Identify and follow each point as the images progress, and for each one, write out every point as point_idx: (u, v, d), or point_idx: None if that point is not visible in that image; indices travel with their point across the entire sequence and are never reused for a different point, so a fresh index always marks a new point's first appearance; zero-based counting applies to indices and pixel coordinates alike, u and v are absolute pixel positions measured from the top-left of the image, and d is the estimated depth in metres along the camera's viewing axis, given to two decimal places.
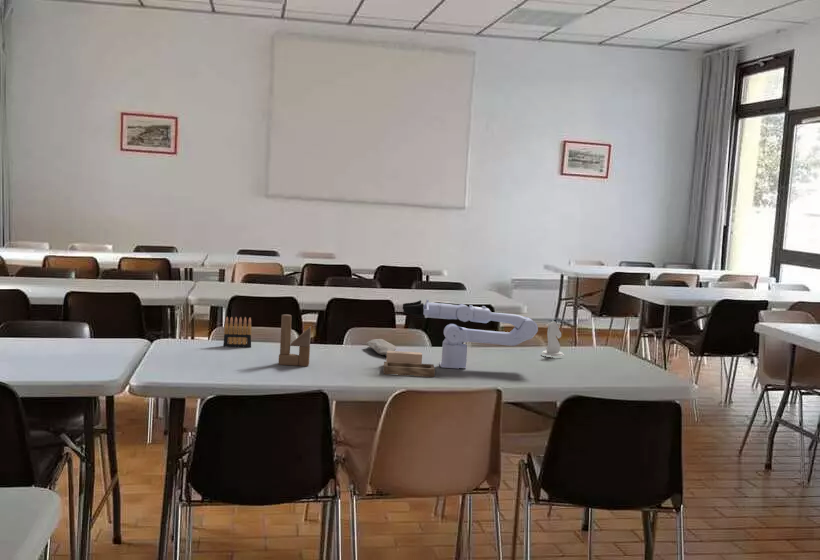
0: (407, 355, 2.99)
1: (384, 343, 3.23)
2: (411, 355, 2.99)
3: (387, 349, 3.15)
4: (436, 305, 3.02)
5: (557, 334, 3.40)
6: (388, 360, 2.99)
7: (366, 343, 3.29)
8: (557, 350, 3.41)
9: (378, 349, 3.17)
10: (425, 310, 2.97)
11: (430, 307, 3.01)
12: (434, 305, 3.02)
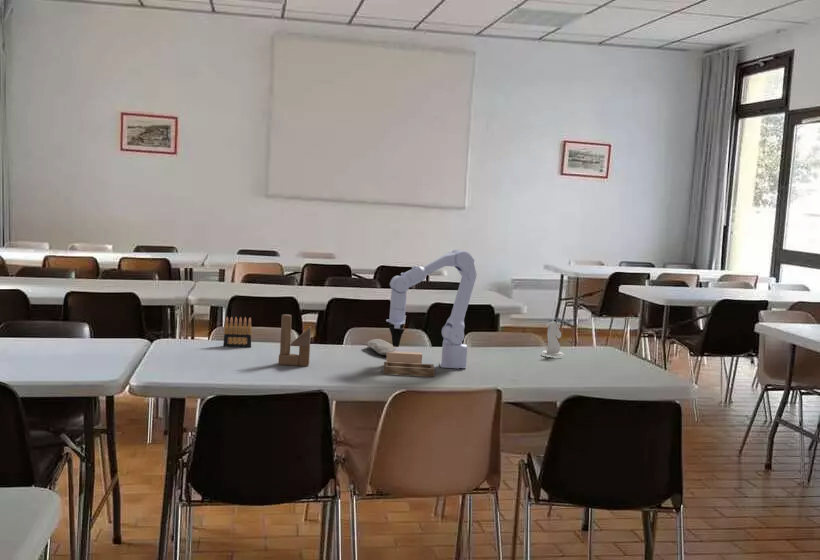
0: (407, 355, 2.99)
1: (384, 343, 3.22)
2: (411, 355, 2.99)
3: (388, 349, 3.15)
4: (391, 312, 2.97)
5: (557, 334, 3.40)
6: (388, 360, 2.98)
7: (365, 343, 3.29)
8: (557, 350, 3.41)
9: (378, 349, 3.17)
10: (395, 326, 2.92)
11: (394, 318, 2.96)
12: (391, 314, 2.97)
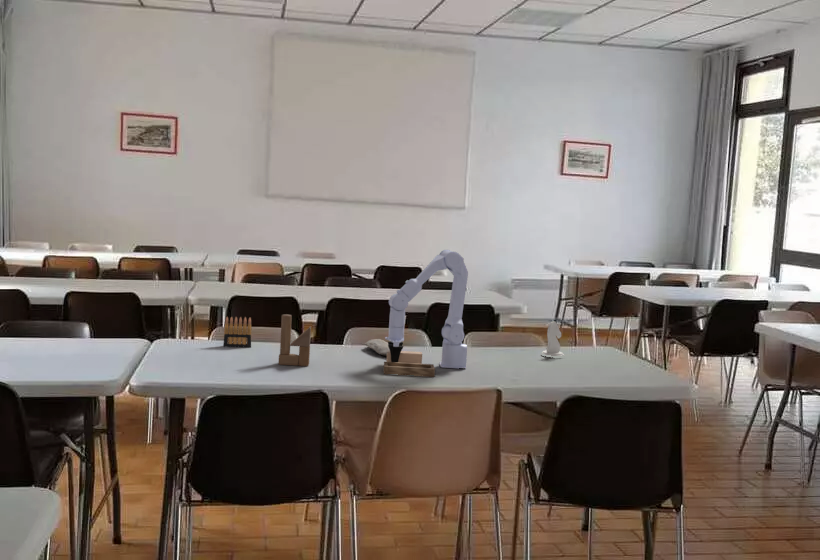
0: (407, 354, 2.99)
1: (384, 343, 3.22)
2: (411, 354, 2.99)
3: (388, 349, 3.15)
4: (390, 330, 2.98)
5: (557, 334, 3.40)
6: (388, 360, 2.98)
7: (365, 343, 3.28)
8: (557, 350, 3.41)
9: (379, 349, 3.17)
10: (394, 344, 2.93)
11: (393, 336, 2.97)
12: (390, 332, 2.98)
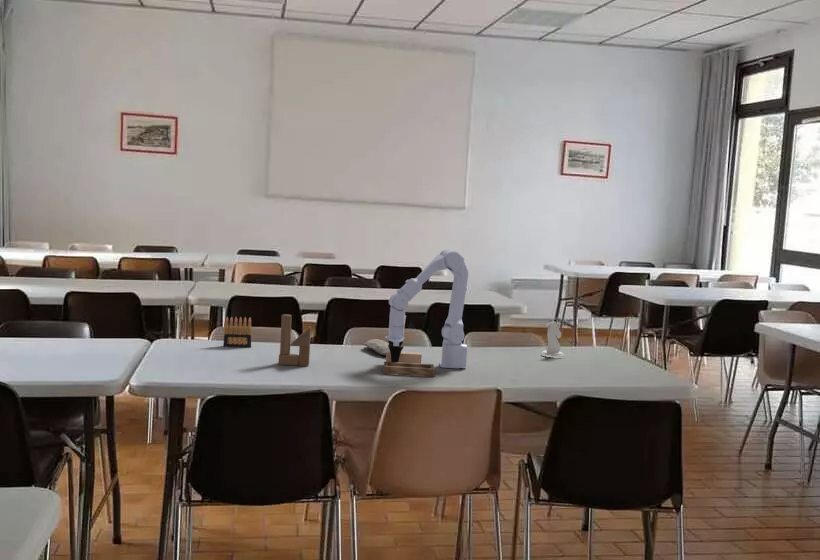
0: (406, 355, 2.99)
1: (384, 343, 3.22)
2: (410, 355, 2.99)
3: None
4: (390, 329, 2.98)
5: (557, 334, 3.40)
6: (387, 360, 2.99)
7: (364, 344, 3.28)
8: (557, 350, 3.41)
9: (380, 349, 3.16)
10: (394, 344, 2.93)
11: (393, 335, 2.97)
12: (390, 331, 2.98)
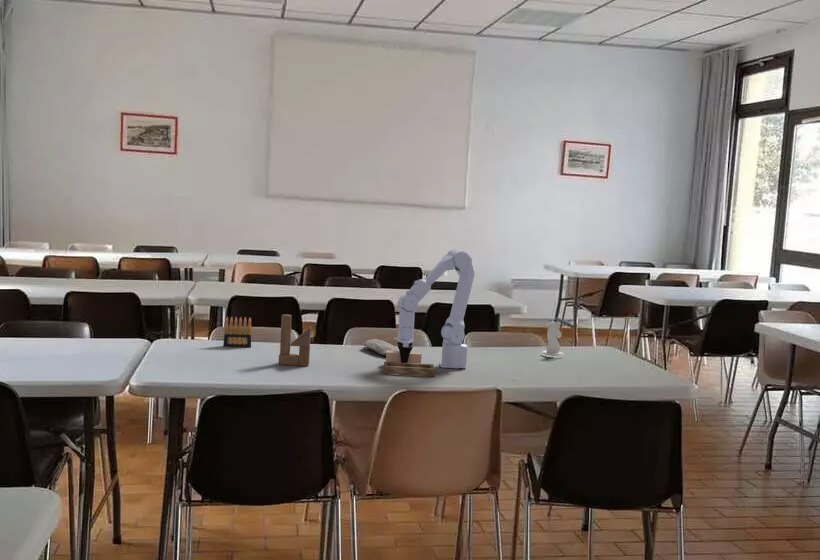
0: None
1: (384, 343, 3.22)
2: (410, 355, 2.99)
3: (390, 349, 3.15)
4: (400, 330, 2.98)
5: (557, 334, 3.40)
6: (387, 360, 2.99)
7: (364, 344, 3.27)
8: (557, 350, 3.41)
9: (381, 350, 3.16)
10: (404, 345, 2.93)
11: (402, 336, 2.97)
12: (400, 332, 2.98)
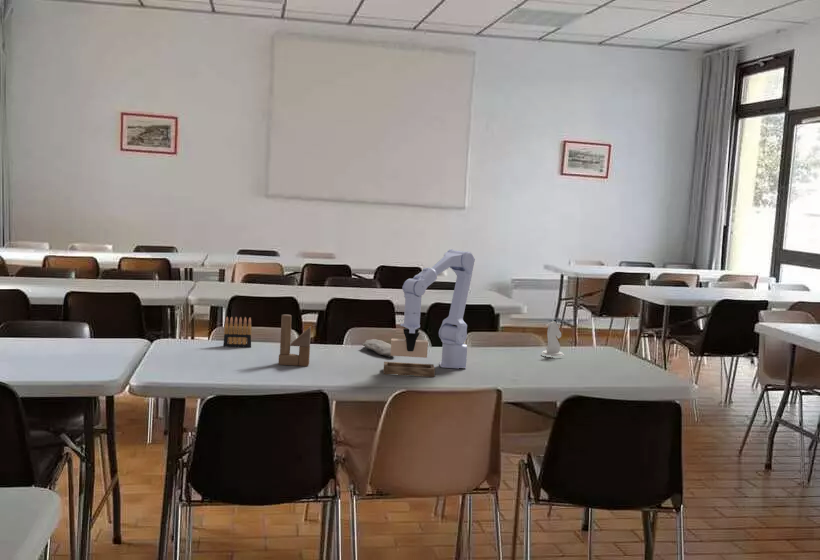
0: None
1: (384, 343, 3.22)
2: (416, 343, 2.88)
3: (390, 349, 3.15)
4: (406, 316, 2.87)
5: (557, 334, 3.40)
6: (392, 348, 2.88)
7: (363, 344, 3.27)
8: (557, 350, 3.41)
9: (381, 350, 3.16)
10: (410, 331, 2.82)
11: (408, 322, 2.86)
12: (406, 318, 2.87)
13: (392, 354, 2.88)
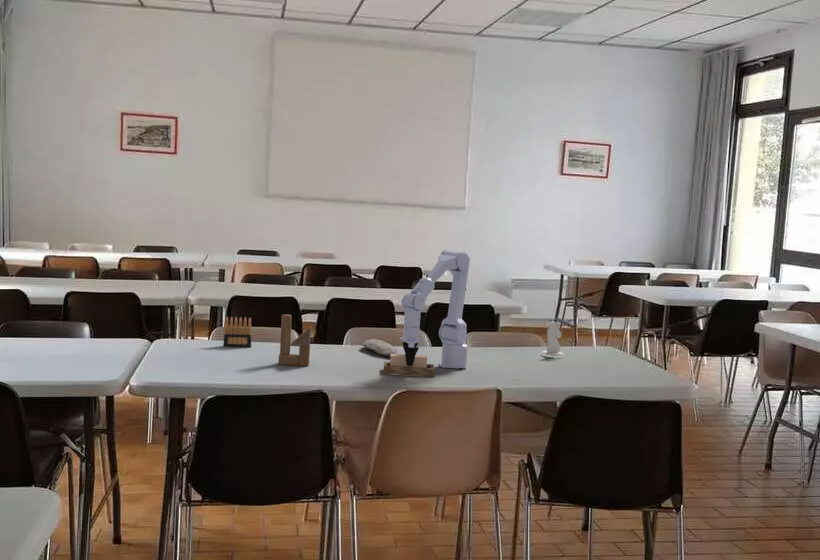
0: None
1: (384, 343, 3.22)
2: (416, 358, 2.88)
3: (391, 349, 3.15)
4: (405, 330, 2.87)
5: (557, 334, 3.40)
6: (391, 364, 2.88)
7: (363, 344, 3.26)
8: (557, 350, 3.41)
9: (381, 350, 3.16)
10: (409, 345, 2.82)
11: (407, 336, 2.87)
12: (405, 332, 2.87)
13: None
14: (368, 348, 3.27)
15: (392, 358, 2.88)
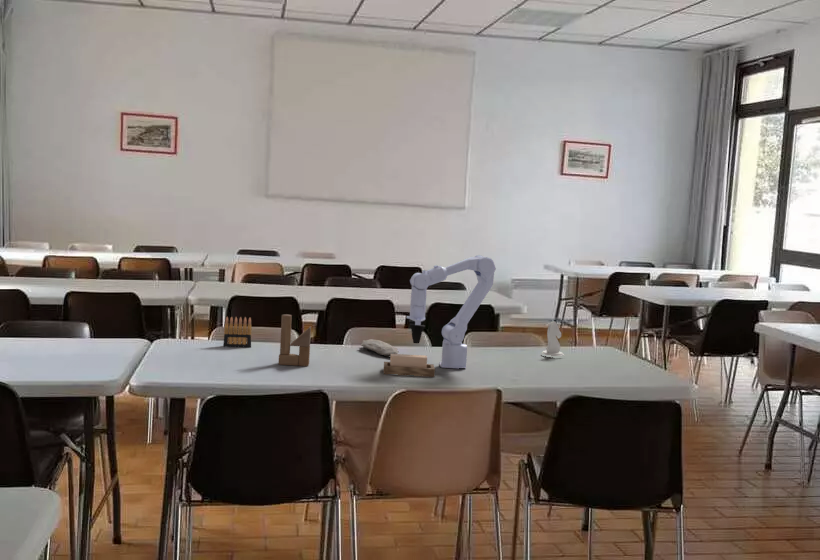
0: (411, 358, 2.88)
1: (384, 343, 3.22)
2: (416, 358, 2.88)
3: (392, 349, 3.15)
4: (412, 309, 2.99)
5: (557, 334, 3.40)
6: (391, 364, 2.88)
7: (362, 344, 3.26)
8: (557, 350, 3.41)
9: (382, 350, 3.15)
10: (416, 323, 2.94)
11: (414, 315, 2.99)
12: (412, 311, 2.99)
13: None
14: (367, 348, 3.26)
15: (392, 358, 2.88)
